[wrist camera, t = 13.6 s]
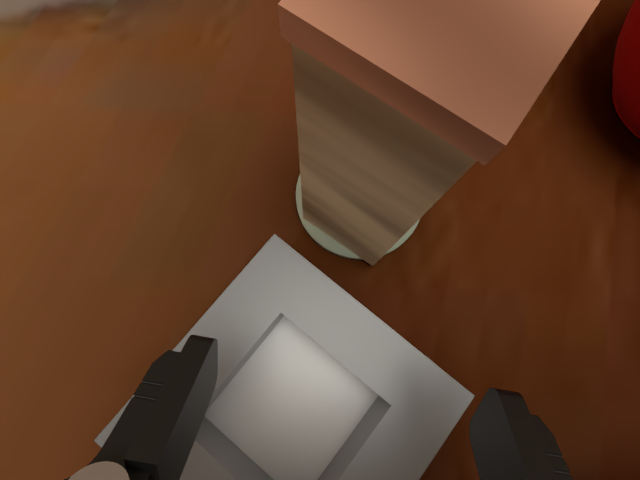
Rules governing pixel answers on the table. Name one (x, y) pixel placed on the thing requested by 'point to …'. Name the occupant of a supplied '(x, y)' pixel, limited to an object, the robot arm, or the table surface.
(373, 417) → the socket block
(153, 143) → the table surface
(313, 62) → the plug
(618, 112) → the ceramic cup
